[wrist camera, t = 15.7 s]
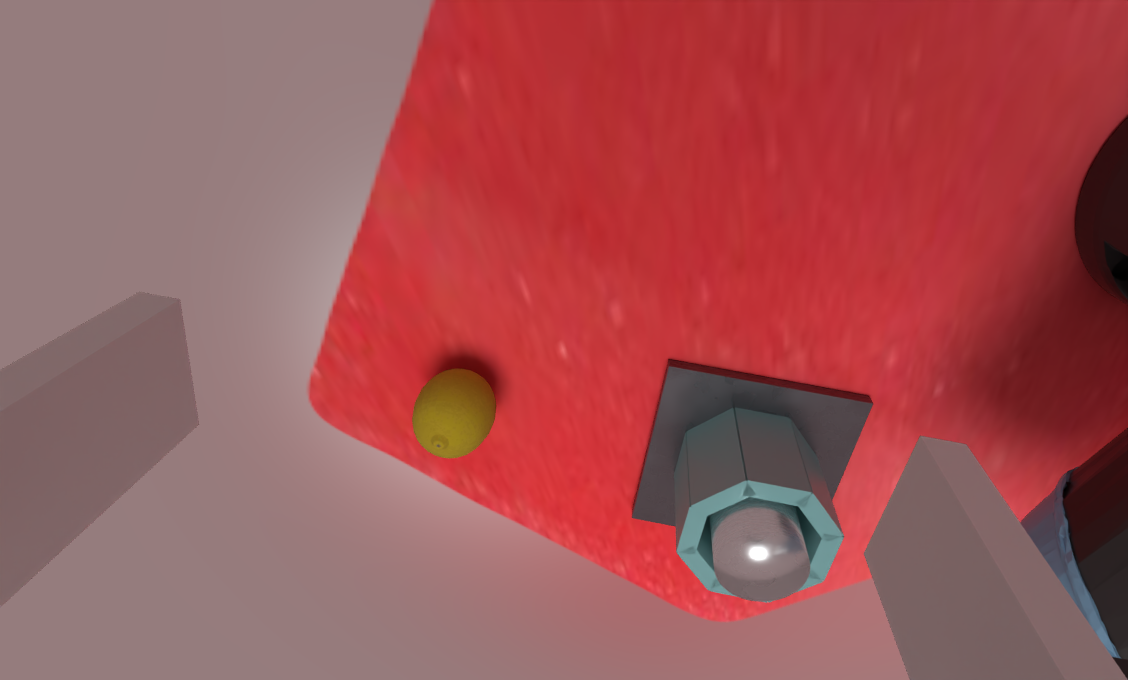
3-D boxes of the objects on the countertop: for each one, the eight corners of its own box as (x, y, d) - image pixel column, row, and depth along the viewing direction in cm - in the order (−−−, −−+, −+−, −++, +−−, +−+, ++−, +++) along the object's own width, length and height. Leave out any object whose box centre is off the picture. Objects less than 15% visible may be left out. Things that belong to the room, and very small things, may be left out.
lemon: (429, 402, 51) (392, 467, 44) (439, 341, 48) (402, 399, 41) (498, 421, 51) (472, 489, 44) (512, 361, 48) (487, 423, 41)
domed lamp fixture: (869, 396, 46) (924, 502, 36) (807, 543, 52) (840, 666, 43) (668, 359, 47) (670, 453, 37) (632, 509, 53) (625, 622, 44)
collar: (769, 388, 46) (789, 460, 38) (835, 483, 48) (865, 565, 41) (653, 448, 49) (651, 523, 42) (721, 532, 52) (730, 617, 45)
